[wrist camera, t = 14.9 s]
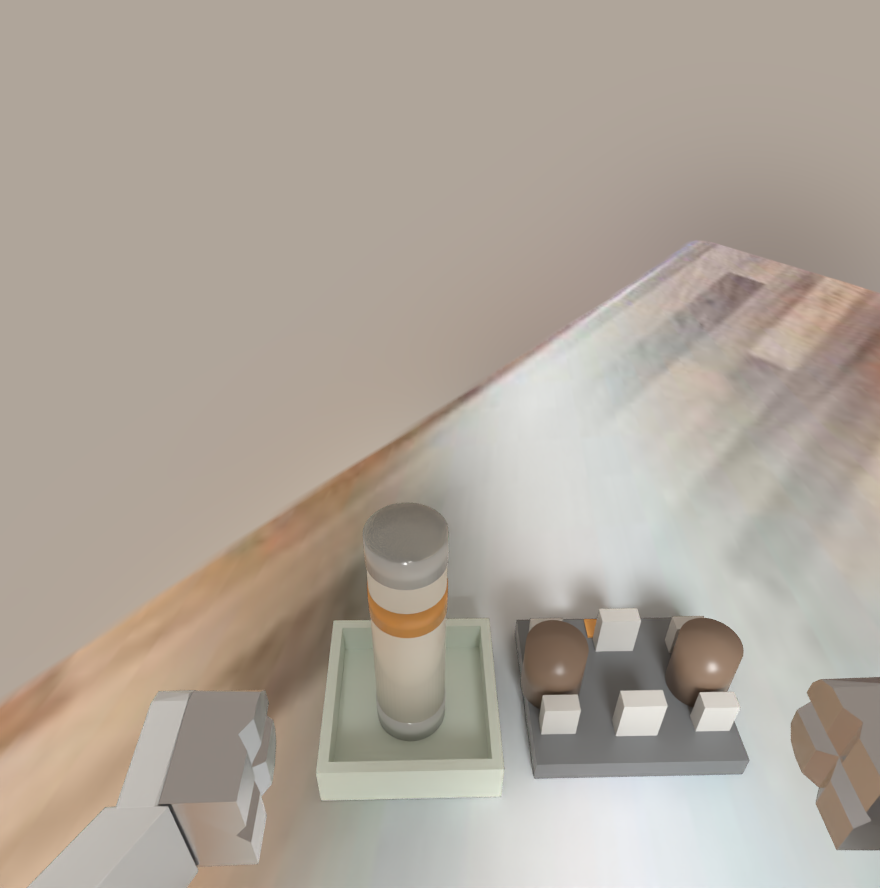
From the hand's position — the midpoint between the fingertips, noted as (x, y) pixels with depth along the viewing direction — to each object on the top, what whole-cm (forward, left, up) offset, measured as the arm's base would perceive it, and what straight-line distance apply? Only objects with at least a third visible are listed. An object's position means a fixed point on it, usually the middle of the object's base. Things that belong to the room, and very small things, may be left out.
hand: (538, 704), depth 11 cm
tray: (-3, +18, -30) cm, 35 cm away
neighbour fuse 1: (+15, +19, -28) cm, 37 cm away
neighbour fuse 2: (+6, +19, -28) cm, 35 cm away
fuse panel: (+10, +19, -30) cm, 37 cm away
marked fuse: (-3, +18, -29) cm, 34 cm away
